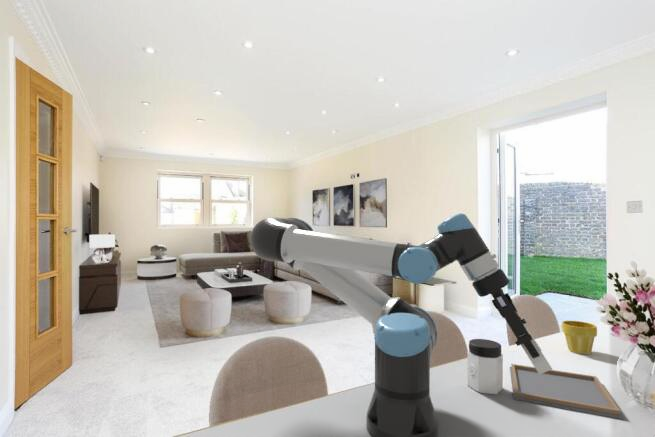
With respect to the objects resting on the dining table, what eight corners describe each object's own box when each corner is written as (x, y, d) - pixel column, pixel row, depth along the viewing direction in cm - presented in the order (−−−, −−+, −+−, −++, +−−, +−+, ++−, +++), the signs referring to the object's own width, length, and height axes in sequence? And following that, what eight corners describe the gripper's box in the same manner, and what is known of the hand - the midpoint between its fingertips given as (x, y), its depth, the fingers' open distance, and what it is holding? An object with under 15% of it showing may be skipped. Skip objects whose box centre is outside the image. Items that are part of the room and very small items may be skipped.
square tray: (513, 399, 92) (513, 392, 92) (509, 368, 113) (509, 363, 113) (623, 419, 83) (623, 412, 83) (597, 381, 103) (597, 376, 103)
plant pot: (554, 348, 133) (554, 321, 133) (576, 345, 136) (576, 319, 136) (582, 357, 123) (582, 328, 123) (604, 355, 126) (604, 326, 126)
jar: (461, 382, 102) (461, 339, 102) (485, 379, 104) (485, 337, 105) (484, 396, 93) (484, 349, 94) (509, 392, 96) (509, 347, 96)
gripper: (503, 271, 72) (570, 373, 67) (498, 264, 95) (547, 340, 90) (469, 288, 74) (531, 388, 69) (471, 277, 97) (518, 352, 92)
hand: (540, 361), depth 79 cm, fingers open, 13 cm apart
